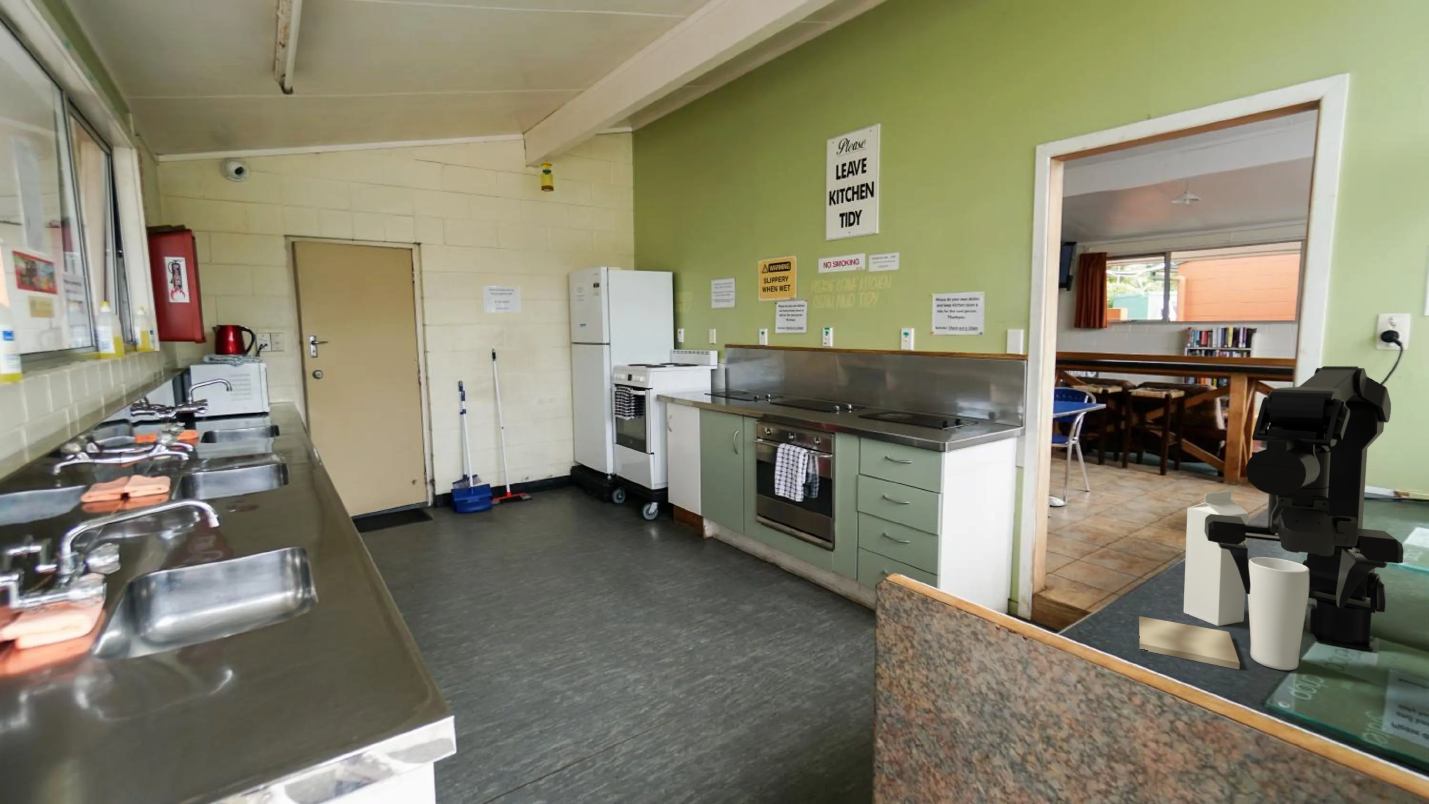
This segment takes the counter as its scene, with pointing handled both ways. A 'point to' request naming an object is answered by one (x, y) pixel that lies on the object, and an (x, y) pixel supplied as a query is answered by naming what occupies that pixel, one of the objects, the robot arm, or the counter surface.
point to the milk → (1212, 566)
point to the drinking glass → (1277, 611)
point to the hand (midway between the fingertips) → (1292, 599)
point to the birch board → (1187, 642)
